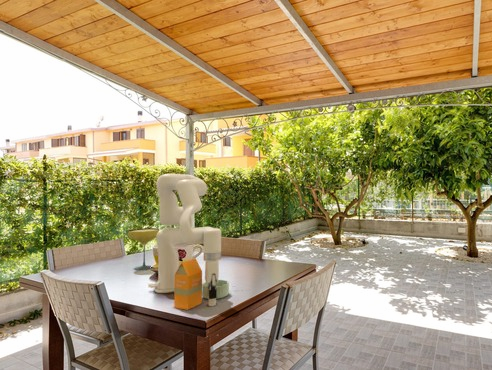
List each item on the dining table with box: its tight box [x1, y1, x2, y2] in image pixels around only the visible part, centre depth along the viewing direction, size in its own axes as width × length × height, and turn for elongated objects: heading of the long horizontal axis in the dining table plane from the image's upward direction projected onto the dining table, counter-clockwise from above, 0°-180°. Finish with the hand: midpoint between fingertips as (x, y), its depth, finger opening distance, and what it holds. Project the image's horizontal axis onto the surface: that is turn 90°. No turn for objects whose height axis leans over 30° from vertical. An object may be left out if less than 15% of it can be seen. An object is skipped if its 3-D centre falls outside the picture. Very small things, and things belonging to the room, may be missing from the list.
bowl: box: [202, 279, 230, 300], centre depth 155 cm, size 12×12×6 cm
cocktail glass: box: [127, 227, 161, 271], centre depth 208 cm, size 18×18×25 cm
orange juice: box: [173, 258, 203, 311], centre depth 142 cm, size 8×9×20 cm
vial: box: [207, 284, 217, 307], centre depth 143 cm, size 3×3×9 cm
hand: (212, 296), depth 143 cm, fingers closed on vial, 3 cm apart
